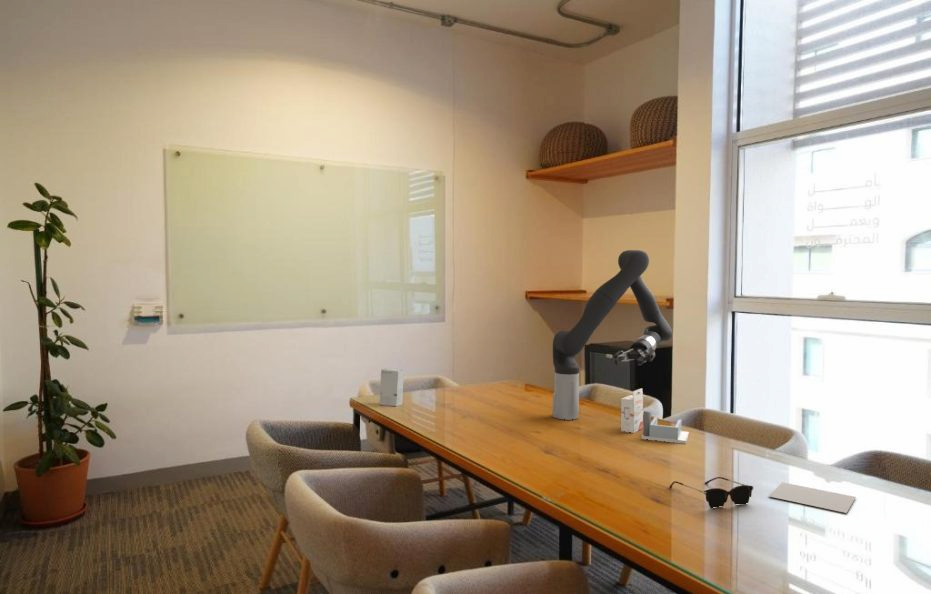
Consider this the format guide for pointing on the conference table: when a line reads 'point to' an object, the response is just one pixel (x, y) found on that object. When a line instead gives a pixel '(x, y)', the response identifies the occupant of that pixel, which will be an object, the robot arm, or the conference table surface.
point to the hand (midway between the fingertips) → (627, 363)
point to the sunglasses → (725, 494)
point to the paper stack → (813, 497)
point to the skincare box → (391, 387)
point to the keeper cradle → (662, 430)
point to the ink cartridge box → (632, 412)
